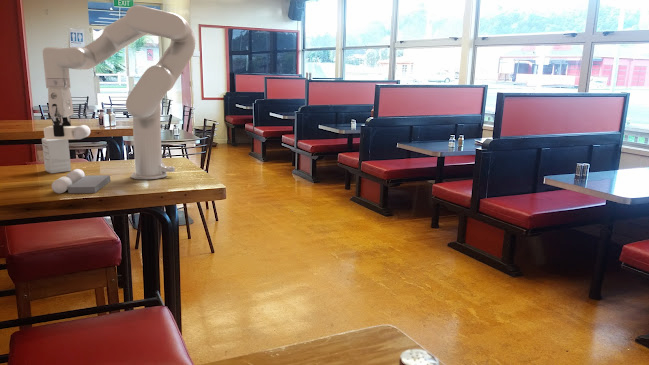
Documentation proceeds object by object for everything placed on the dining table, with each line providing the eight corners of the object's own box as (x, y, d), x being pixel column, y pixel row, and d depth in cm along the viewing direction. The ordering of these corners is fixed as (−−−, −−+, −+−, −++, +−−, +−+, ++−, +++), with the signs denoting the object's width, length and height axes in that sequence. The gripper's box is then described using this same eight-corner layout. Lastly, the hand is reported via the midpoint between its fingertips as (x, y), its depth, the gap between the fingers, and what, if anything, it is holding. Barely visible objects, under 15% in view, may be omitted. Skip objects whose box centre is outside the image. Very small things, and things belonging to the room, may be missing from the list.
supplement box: (65, 168, 194) (62, 136, 191) (71, 171, 189) (68, 138, 186) (44, 170, 189) (41, 138, 186) (50, 173, 184) (47, 140, 181)
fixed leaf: (110, 180, 174) (109, 168, 173) (95, 192, 157) (94, 179, 156) (72, 181, 172) (70, 168, 172) (52, 193, 155) (50, 179, 154)
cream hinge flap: (91, 137, 180) (90, 125, 179) (85, 139, 174) (84, 126, 173) (51, 137, 178) (50, 124, 177) (44, 139, 172) (43, 126, 171)
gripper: (60, 84, 163) (65, 138, 167) (77, 83, 180) (82, 132, 184) (36, 84, 162) (41, 138, 166) (56, 83, 179) (60, 132, 183)
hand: (63, 134), depth 175 cm, fingers closed on cream hinge flap, 6 cm apart
